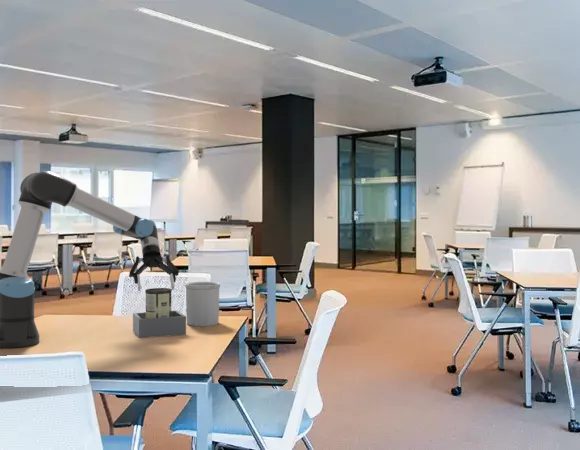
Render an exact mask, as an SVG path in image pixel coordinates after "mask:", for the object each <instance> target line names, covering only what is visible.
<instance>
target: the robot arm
mask: <svg viewBox="0 0 580 450" xmlns="http://www.w3.org/2000/svg"><path fill="white" fill-rule="evenodd" d="M19 189H20V190H19V191H20V195H19V199H18V204H19V206H20V211H19V214H18V216H17V220H16V223H15V226H14V230H13V232H12V237H11V239H10V242H9V245H8V248H7V252H6V255H5V259H4V262H3V264H2V267H1V268H0V349H10V348H11V349H13V348H15V349H16V348H23V347H29V346H35V345H37V344H38V343H40V333H39V331H38V328H37V324H36V322H35V292H36V287H35V282H34V280H33V279H31V278H30V276H29V275H28V273H27V272H28V269H29V266H30V263H31V259H32V255H33V253H34V249H35V246H36V242H37V240H38V237H39V233H40V229H41V227H42V223H43V220H44V217H45V214H47V213H48V212H50V211H51V207H52V205H53V204H58V205H60V206H62V207H64V208H65V207H68V206H69V207H71V208H74V209H75V210H78V211H81V212H83V213H84V214H86V215H89V216H91V217H94V218H96V219H98V220H100V221H103V222H105V223H107V224H108V225H112V230H113V232H114V233H115V234H118V235H120V236H121V235H122V236H125V237H130V238H133V239H136V240H139V241H140V244H141V245H140V246H141V253H142V257H140V256H136V257H135V261H134V263H133V266H132V267H131V268H130V270H129V272H128V273H129V274H128V277H129V278H133V283H134V284H137V291H138V292H140V291H141V288H142V286H141V277H140V275H141V274H142V273H143V272H144V271H145V270H146V269H147V268H150V269H151V268H158V269H160V270H162V271H164V272H165V273H166V274H167V275H169V280H170V281H169V282H170V286H171V288H170V289H172V291H173V290H175V285H176V284H175V283H176V280H177V278H176V277H177V276H179V273H180V271H179V269H178V268H177V267H176V265H175V264H174V263H173V262H172V261H171V260H170V256H168V255H167V256H165V257H162V254H161V248H160V243H159V242H160V241H159V235H158V228H157V226H156V223H155V221H153V220H152V219H147V218H145V217H144V218H143V217H140V216H138V215H135V214H133V213H132V212H129V211H127V210H125V209H123V208H120V207H119V206H118V205H115V204H112V203H110V202H108V201H106V200H104V199H102V198H100V197H98V196H96V195H94V194H91V193H90V192H88V191H85V190H83V189H80V188H79V187H78V185H77V184H76V183H74V182H73V181H70V180H68V179H66V178H64V177H62V176H61V175H59V174H57V173H55V172H52V171H47V170H45V171H39V172H34V173H30V174H28V175H27V176H25V178H23V180H22V182H21V183H20V188H19ZM141 262H142V263H143V264H141ZM139 264H141V265H140V267H138V266H139ZM137 268H138V269H137Z"/></svg>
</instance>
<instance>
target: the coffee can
mask: <svg viewBox="0 0 580 450" xmlns="http://www.w3.org/2000/svg"><path fill="white" fill-rule="evenodd" d="M144 290H145V291H144V293H145V312H146V319H148V318H164V317H171V311H172V291H173V290H172V288H167V287H153V288H147V289H144Z"/></svg>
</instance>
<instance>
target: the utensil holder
mask: <svg viewBox="0 0 580 450" xmlns="http://www.w3.org/2000/svg"><path fill="white" fill-rule="evenodd" d="M220 288H221V283H220V282H218V281H203V280H202V281H190V282H186V283H185V303H186V304H185V307H186V308H185V310H186V313H185V314H186V315H185V316H186V325H189V326H191V327H192V326H193V327H211V326H216V325H218V324H219V321H220V320H219V319H220V317H219V316H220Z"/></svg>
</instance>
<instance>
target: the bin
mask: <svg viewBox="0 0 580 450" xmlns="http://www.w3.org/2000/svg"><path fill="white" fill-rule="evenodd" d="M132 331H133V333H135V335H136V336H137V338H138V339H144V338H145V339H146V338H155V337H157V338H158V337H159V338H160V337H168V336H181V335H186V334H187V315H184V314H183V313H181V312H180V311H179V310H171V317H164V318H148V319H146V311H145V312H143V311H142V312H133V313H132Z"/></svg>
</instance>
